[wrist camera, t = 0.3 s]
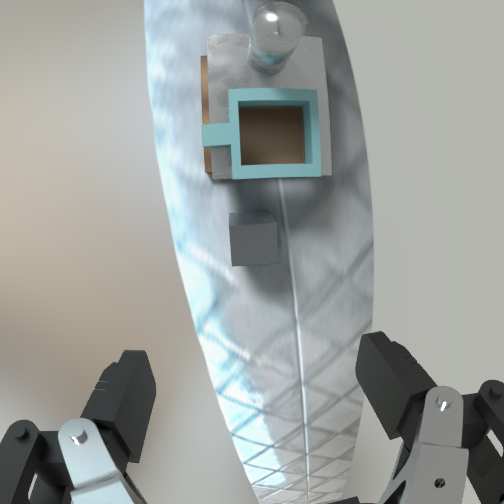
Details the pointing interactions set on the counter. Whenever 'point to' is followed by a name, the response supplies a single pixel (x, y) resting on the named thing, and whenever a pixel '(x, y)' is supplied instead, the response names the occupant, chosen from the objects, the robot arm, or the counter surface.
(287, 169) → the bracket head
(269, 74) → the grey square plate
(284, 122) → the foot plate
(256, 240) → the brushed steel block
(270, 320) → the counter surface
